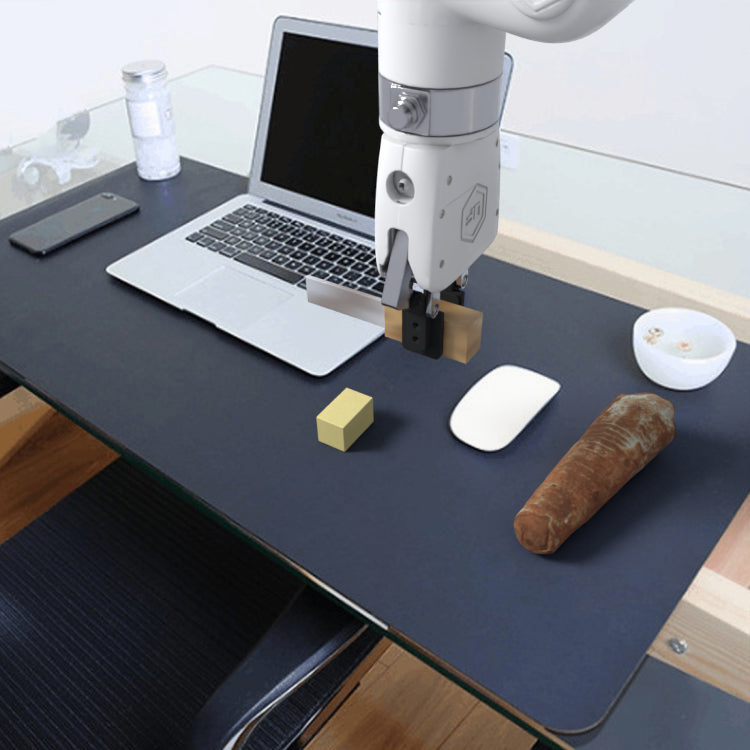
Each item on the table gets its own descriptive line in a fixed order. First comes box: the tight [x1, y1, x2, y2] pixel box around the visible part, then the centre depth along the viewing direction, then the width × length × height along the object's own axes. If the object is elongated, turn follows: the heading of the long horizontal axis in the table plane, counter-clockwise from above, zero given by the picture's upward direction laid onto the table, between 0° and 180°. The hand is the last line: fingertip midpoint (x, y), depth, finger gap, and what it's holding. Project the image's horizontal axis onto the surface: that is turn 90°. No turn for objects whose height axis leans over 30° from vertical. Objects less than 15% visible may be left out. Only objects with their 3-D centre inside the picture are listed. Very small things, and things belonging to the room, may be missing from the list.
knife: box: [305, 274, 484, 365], centre depth 61 cm, size 15×2×3 cm, turn 58°
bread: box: [512, 391, 677, 555], centre depth 67 cm, size 6×19×6 cm, turn 135°
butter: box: [315, 387, 374, 453], centre depth 74 cm, size 5×3×3 cm, turn 148°
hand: (432, 340), depth 60 cm, fingers closed on knife, 2 cm apart
